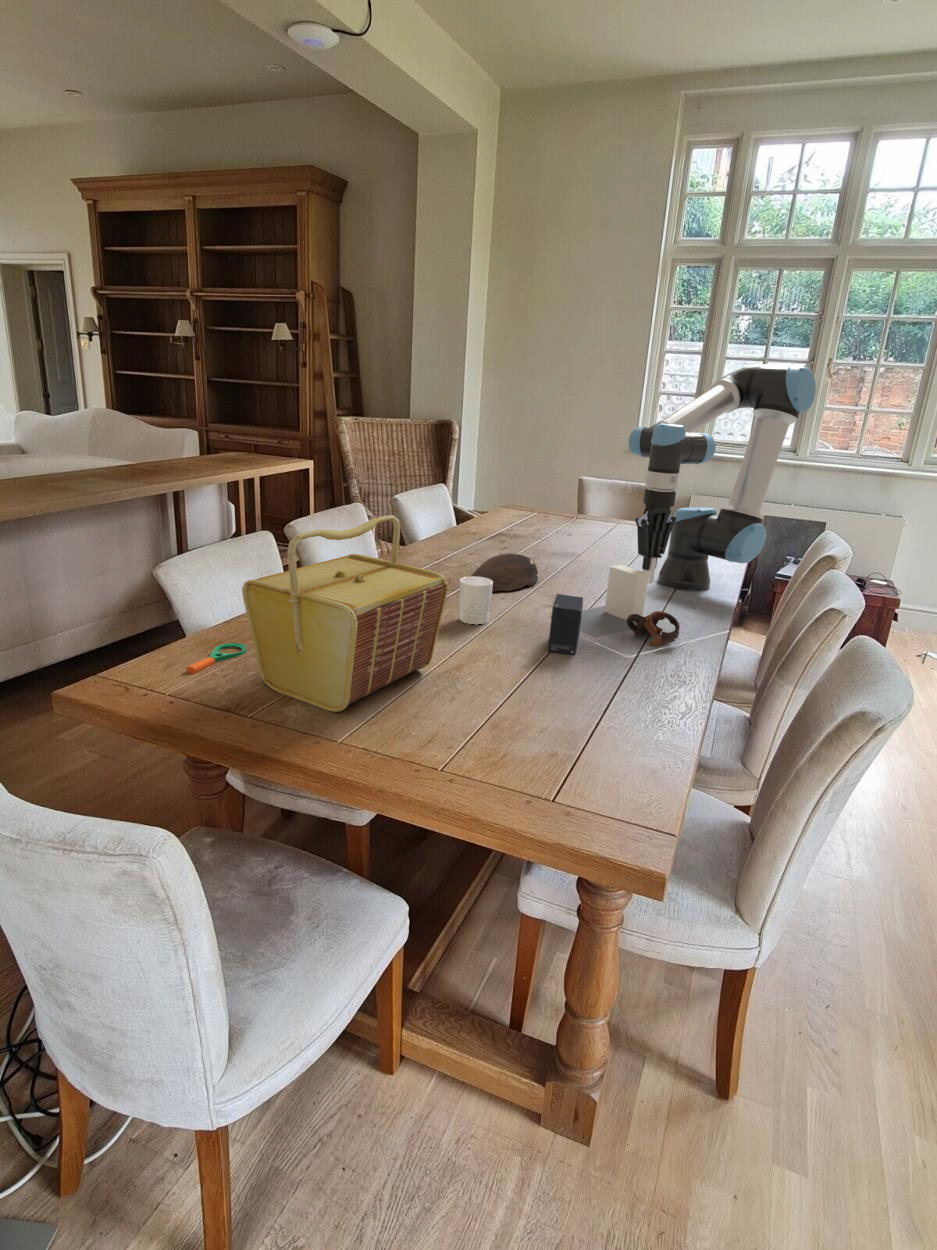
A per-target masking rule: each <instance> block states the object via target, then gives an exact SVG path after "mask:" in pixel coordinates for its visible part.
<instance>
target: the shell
mask: <svg viewBox="0 0 937 1250" xmlns="http://www.w3.org/2000/svg"><path fill="white" fill-rule="evenodd" d="M538 569H539V568H538V566H537V563H536V562H535V561H534V560H532V559H531V558H530V557H529V556H525V555H522V554H518V553H517V554H516V553H502V554H498V555H494V556H492V557H490V558H488V559H487V560H486V561H484V562H482V564H481V565H480V566H479V567H477V569H476V570H475V571H474V572H473V573H472V574H470V576H476V577H484V578H488V579H491V580H492V581H493V587H492V593H496V592H500V591H503V592H504V591H505V592H509V591H514V590H518V589H519V590H520V589H522V588H525V586H526V585H527V588H528V587H532V588H533V587H535V585H536V584H537V582H538V580H539V579H538V578H539V577H538Z"/></svg>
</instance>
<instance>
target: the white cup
mask: <svg viewBox="0 0 937 1250" xmlns="http://www.w3.org/2000/svg"><path fill="white" fill-rule="evenodd" d="M492 587H493V581H492V580H491V579H488V578H484V577H476V576H471V575H470V576H463V577H461V578H460V579H459V610H460V611H459V620H460V621H462V622H461V623H463V622H464V624H466V623H468V624H467V625H470V624H475V625H474V626H479V625H478V624H482V625H484V624H487V623H488V621H489V618H490V617H489V615H490V611H491V609H490V608H491V603H492V596H493V595H492V594H493V592H492Z"/></svg>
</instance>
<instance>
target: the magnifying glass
mask: <svg viewBox="0 0 937 1250" xmlns="http://www.w3.org/2000/svg"><path fill="white" fill-rule="evenodd" d="M230 647H233V648H232V649H238V648H240V649H239V650H240V651H236V652H233V653H232V652H231V653H229V652H227V653H224V652H221V651H222V650H221V649H223V650H226V649H225V648H227V649H231V648H230ZM234 647H236V648H234ZM241 649H242V650H241ZM219 650H220V651H219ZM245 652H246V653H247V646H246V645H245V644H243V643H239V642H227V643H223V644H220V645H219V644H218V645H216V646H215V647H214V648H213V650H212V652H211V653H210V654H209V656H207V657H206V658H203V659H201V660H200V661H199V660H198V661H197V662H195V663H192V664H190V665H188V666H187V667H186V671H187V673H189V674H196V673H198V672H200V671H202V670H204V669H206V668H208V667H209V666H212V665H215V664H216V663H218V661H219V662H222V661H221V660H223V661H225V659H227V660H230V659H229V658H231V659H233V658H232V657H235V658H237V657H236V656H239V655H242V654H243V655H245V654H246V653H245ZM244 653H245V654H244ZM243 655H242V656H243ZM239 657H240V656H239Z"/></svg>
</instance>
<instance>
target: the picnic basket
mask: <svg viewBox="0 0 937 1250" xmlns="http://www.w3.org/2000/svg"><path fill="white" fill-rule="evenodd" d="M390 521H391V522H392V525H393V533H392V547H391V558H390V559H391V561H390V560H386V559H381V558H376V557H372V556H367V555H363V554H359V553H350V554H347V555H344V556H341V557H337V558H333V559H327V560H325V561H320V562H318V563H317V562H316V563H312V564H309V565H305V566H301V567H297V558H296V555H297V554H296V550H297V545H298V544H299V543H300V542H301V540H305V539H308V538H314V537H321V538H324V539H326V540H332V541H333V540H334V541H341V540H348V539H353V538H356V537H359V536H362V535H364V534H366V533H368V532H370V531H372V529H373V528H375V526H377V525H378V524H381V523H384V522H390ZM400 537H401V524H400V520H399V519H398V518H397V517H396V516H395V515H393V514H392V515H391V514H390V515H389V514H388V515H383V516H379V517H375V518H372V519H370V520H368V521H365V522H364V523H361V524H360V525H357V526H356V527H353V528H349V529H344V530H332V529H315V530H310V531H308V530H307V531H305V532H300V533H298V534H296V535H294V536H293V538H292V539H291V540H290V541H288V547H287V550H286V551H287V563H288V564H287V565H288V570H285V571H283V572H278V573H275V574H271V575H267V576H263V577H259V578H256V579H255V578H253V579H249V580H246V581H245V582H244V583H243V585H242V587H241V592H242V598H243V599H242V600H243V603H244V608H245V613H246V616H247V617H246V618H247V621H248V626H249V630H250V634H251V640H252V643H253V644H252V645H253V648H254V653H255V657H256V661H257V666H258V671H259V674H260V677H261V679H262V680H263V682H264V683H265V684H266V685H267V686H268V687H269V688H270V689H271V690H273V691H275V692H277V693H279V694H282V695H285V696H286V697H290V698H292V699H295V700H299V701H301V702H304V703H306V704H309V705H312V706H314V707H317V708H320V709H322V710H325V711H327V712H333V713H337V712H338V713H339V712H343V710H345V709H346V708H347V707H348V706H349V705H351V704H352V703H355V702H357V701H358V700H361V699H362V698H364V697H366V696H368V695H370V694H372V693H374V692H376V691H378V690H380V689H381V688H384V687H386V686H387V685H389V684H391V683H394V682H395V681H397V680H399V679H401V678H403V677H405V676H407V675H408V674H411V673H413V672H415V671H418V670H422V669H425V668H427V666H429V665H430V663H431V662H432V659H433V654H434V651H435V648H436V647H435V646H436V642H437V637H438V633H439V629H440V625H441V621H442V616H443V613H444V609H445V608H444V607H445V604H446V600H447V596H448V592H449V583H448V581H447V579H446V578H445V576H444V575H442V573H439V572H437V571H435V570H431V569H426V568H422V567H417V566H412V565H408V564H403V563H399V562H398V561H399V549H400Z"/></svg>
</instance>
